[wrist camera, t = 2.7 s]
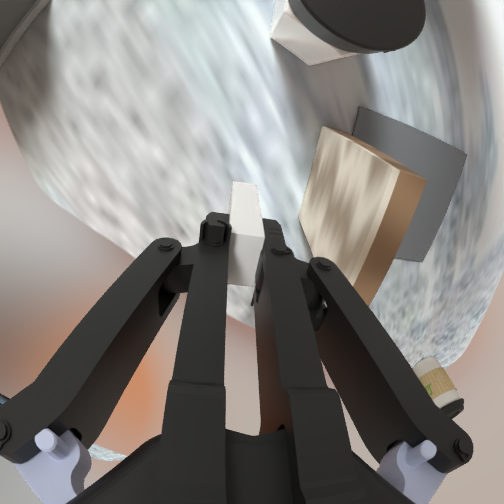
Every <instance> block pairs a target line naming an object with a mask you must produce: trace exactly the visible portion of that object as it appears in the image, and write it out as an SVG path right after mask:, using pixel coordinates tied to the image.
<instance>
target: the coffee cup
mask: <svg viewBox="0 0 504 504" xmlns="http://www.w3.org/2000/svg"><path fill="white" fill-rule="evenodd" d="M413 371H414V372H415V374H416V375H417V377H418V378H419V380H420V381H421V383H422V384H423V386H424V388H425V389H426V391H427V392H428V394H429V395H430V397H431V398H432V400H433V402H434V403H435V405H437V406H438V407H439V408H440V409H441V410H442V411H443V412H444V413H445V414H446V415H447V416H449V417H450V418H451V419H453V418H454V417H456V416H457V415H458V414H459V413H460V412H462V411H463V409H464V405H463V404H464V399H462V398H460V396H459V394H458V393H457V389H456V388H455V386H454V385H453V383H452V381H451V380H450V378H449V377H448V375H447V373H446V372H445V370H444V369H443V368H442V367H441V365H440V364H439V362H438V361H437V359H436V358H435V357H434V356H430V357H427V358H425V359H423V360H421V361H420V362H418V363H417V364H416V365H415V366H414V367H413Z"/></svg>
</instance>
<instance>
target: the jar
mask: <svg viewBox="0 0 504 504" xmlns="http://www.w3.org/2000/svg"><path fill="white" fill-rule="evenodd" d="M425 18H426V9H425V2H424V0H275V4H274V10H273V17H272V23H271V30H270V37H271V38H272V39H273V40H275V41H276V42H278V43H279V44H280V45H282V46H283V47H285V48H286V49H287V50H289V51H290V52H291V53H293V54H294V55H295V56H297V57H298V58H299V59H301V60H302V61H303V62H305V63H306V64H307V65H309V66H312V65H316V64H319V63H323V62H327V61H331V60H335V59H340V58H344V57H349V56H353V55H358V54H371V53H378V52H384V53H386V52H389V51H395V50H397V49H401V48H403V47H406V46H407V45H409V44H411V43H412V42H413V41H415V40H416V39H417V37H418V36H419V35H420V33H421V31H422V29H423V27H424V24H425Z"/></svg>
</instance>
